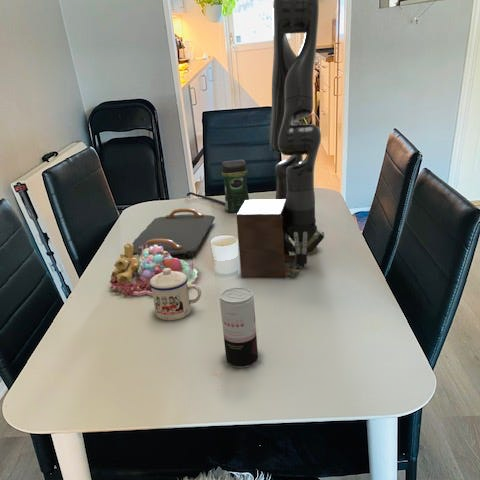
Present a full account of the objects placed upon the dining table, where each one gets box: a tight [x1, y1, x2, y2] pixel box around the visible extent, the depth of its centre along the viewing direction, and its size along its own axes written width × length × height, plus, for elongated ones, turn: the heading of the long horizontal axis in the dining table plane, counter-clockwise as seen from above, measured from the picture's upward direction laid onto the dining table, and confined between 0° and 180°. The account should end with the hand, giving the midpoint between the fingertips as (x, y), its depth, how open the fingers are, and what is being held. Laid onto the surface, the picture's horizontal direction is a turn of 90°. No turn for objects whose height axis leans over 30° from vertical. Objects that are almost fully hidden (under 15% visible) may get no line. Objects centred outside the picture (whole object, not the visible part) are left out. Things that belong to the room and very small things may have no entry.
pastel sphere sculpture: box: [109, 243, 199, 297], centre depth 139 cm, size 25×24×9 cm
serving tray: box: [131, 207, 216, 259], centre depth 166 cm, size 39×23×6 cm, turn 172°
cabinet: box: [235, 198, 291, 279], centre depth 137 cm, size 12×13×18 cm
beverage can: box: [219, 287, 259, 369], centre depth 98 cm, size 7×7×15 cm
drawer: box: [284, 254, 300, 278], centre depth 141 cm, size 14×13×2 cm
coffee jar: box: [221, 159, 250, 213], centre depth 189 cm, size 10×8×19 cm
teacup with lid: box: [150, 268, 202, 321], centre depth 120 cm, size 12×9×12 cm
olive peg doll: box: [300, 218, 318, 256], centre depth 148 cm, size 6×6×11 cm
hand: (301, 265), depth 139 cm, fingers closed
